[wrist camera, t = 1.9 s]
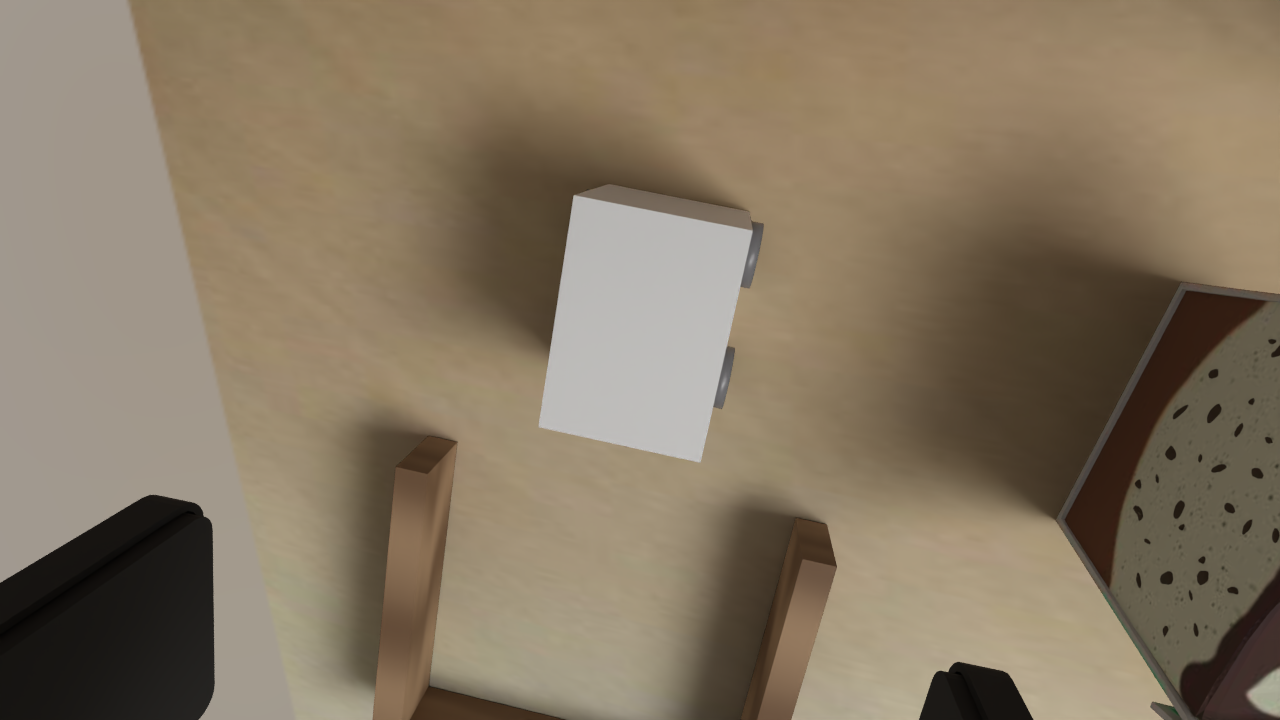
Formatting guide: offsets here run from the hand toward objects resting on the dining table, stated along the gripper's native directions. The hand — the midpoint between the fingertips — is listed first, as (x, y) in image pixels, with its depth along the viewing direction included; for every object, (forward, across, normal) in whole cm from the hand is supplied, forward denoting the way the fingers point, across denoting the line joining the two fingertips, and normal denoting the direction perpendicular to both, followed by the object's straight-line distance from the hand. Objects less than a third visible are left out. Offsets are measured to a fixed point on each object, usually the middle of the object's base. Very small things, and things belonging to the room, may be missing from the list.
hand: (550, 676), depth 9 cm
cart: (+19, 0, -1) cm, 19 cm away
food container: (+19, -19, 0) cm, 27 cm away
